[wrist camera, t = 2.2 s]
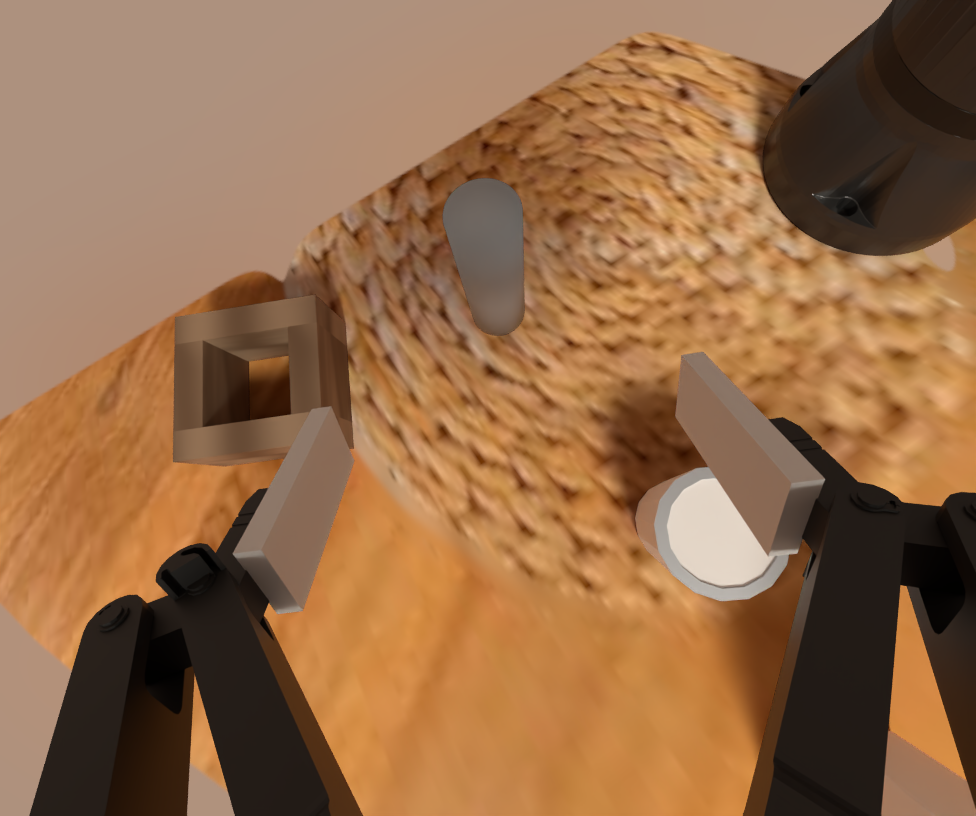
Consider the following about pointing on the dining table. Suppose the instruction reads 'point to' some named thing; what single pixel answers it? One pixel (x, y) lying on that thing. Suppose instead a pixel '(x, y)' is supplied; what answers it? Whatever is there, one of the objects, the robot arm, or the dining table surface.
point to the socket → (225, 378)
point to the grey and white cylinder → (704, 538)
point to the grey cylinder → (488, 251)
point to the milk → (921, 784)
